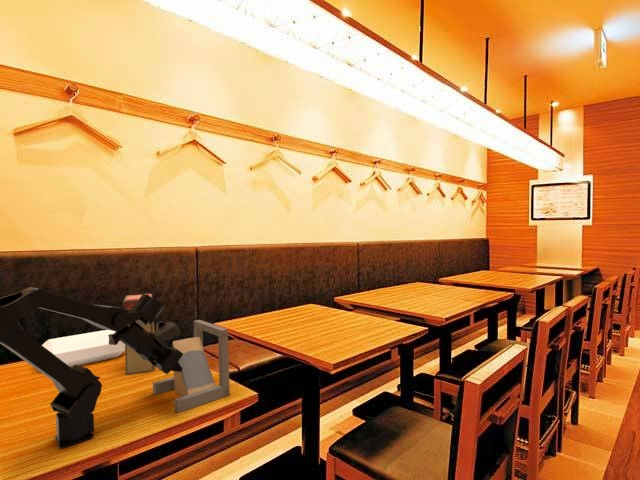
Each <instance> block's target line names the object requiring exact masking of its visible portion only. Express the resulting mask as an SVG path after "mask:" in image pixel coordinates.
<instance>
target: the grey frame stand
mask: <svg viewBox="0 0 640 480" xmlns="http://www.w3.org/2000/svg"><path fill="white" fill-rule="evenodd" d="M203 331H204V332H206V333H209V334H211V335H214V336H217V339H218V344H217V345H218V375H219V376H218V377H219V379H218V380H219V383H218V385H216V386H214V387H211V388H208V389H205V390H202V391H199V392H196V393H192V394H189V395H186V396H183V397H181V396H180V397H178V398H177V397H176V398H175V399H174V412H176V413H177V414H179V413H181V412H185V411H188V410H191V409H194V408H196V407H200V406H202V405H204V404H205V405H206V404H208V403H211V402H214V401H216V400H217V401H218V400H219V399H222V398H226V397H228V396H230V366H229V364H230V361H229V359H230V357H229V329H228V328H226V327H223V326H220V325H216V324H213V323H210V322H208V321H204V320H201V319H196V320H193V338H194V337H200V339H201V343H202V346H203V347H204V335H203V334H204V333H203ZM172 390H174V376H172V377H168V378H165V379H161V380H156V381H153V382H152V393H153V394H154V395H158V394H163V393H166V392H169V391H172Z"/></svg>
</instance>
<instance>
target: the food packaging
mask: <svg viewBox="0 0 640 480" xmlns="http://www.w3.org/2000/svg"><path fill="white" fill-rule="evenodd" d="M143 294H144V293H142V294H131V295H130V294H128V295H126V296H125V297H124V300H123V301H122V306H123V307H122V308H124V309H128V310H131V309H132V308H133V307H134V306H135V304H136V303H137V302H138V301H139V299H140V297H141V296H142V295H143ZM146 294H147V295H149V296H150V297H152V298H153V294H152V293H146ZM136 323H137V322H136ZM137 324H138V323H137ZM139 325H140V324H139ZM140 326H141V327H143V328H144V329H145V330H147V331H149V332H151V333H154V332H155V320H154V321H153V323H152V324H151V325H149V324H146V326H142V325H140ZM124 354H125V357H124V358H125V376H128V375H129V376H130V375H136V374H137V375H138V374H143V373H149V372H155V370H156V369H155V368H156V366H154V365H152V364H151V362H149V361H148V360H144V359H143V358H141V357H140V356H138V353H136V352H135V351H133V350H132V349H131V348H129V347H128V346H126V345H125V351H124Z"/></svg>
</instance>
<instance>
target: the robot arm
mask: <svg viewBox="0 0 640 480" xmlns="http://www.w3.org/2000/svg"><path fill="white" fill-rule="evenodd" d="M142 294H143V295H142V296H141V297H140V299H139V301H138V302H137V303H136V304H135V306H134V307H133V308H132V309H131V310H128V309H124V308H123V307H118V306H112V305H111V306H109V305H102V304H100V305H99V304H92V303H89V302H85V301H81V300H78V299H75V298H71V297H69V296H66V295H65V296H64V295H62V294H61V295H60V294H58V293H53V292H50V291H47V290H46V289H43V288H42V287H41V288H40V287H33V286H30V287H26V288H25V289H23V290H22V289H21V290H20V291H18V292H15V293H12V294H8V295H7V296H6V295H5V296H3V297H2V296H1V297H0V345H1V346H3V347H5V348H6V349H8V350H9V351H10V352H12V353H13V354H15V355H16V356H17V357H19V358H20V359H21V360H23V361H24V362H26V363H27V364H28V365H30V366H31V367H32V368H34V369H35V370H37V371H38V372H40V373H41V374H43V375H44V376H45V377H46V378H48V379H49V380H51V381H52V382H53V384H54V387H55V389H56V390H57V391H58V392H59V393H57V395H56V396H55V397H54V399H52V401H51V402H50V407H51V410H52V411H53V412H54V413H56V414H55V417H56V420H55V421H56V435H55V436H54V438H55V441H56V443H57V446H58V447H59V449H64V448H68V447H70V446H72V445H75V444H78V443H82V442H84V441H87V440H90V439H93V438H94V436H95V435H94V431H95V414H94V411H95V408H96V406H97V403H98V398H99V397H100V396H101V392H102V387H103V385H102V383H101V381H100V379H101V377H100V376H98V375H95V374H94V373H93V372H92V371H91V370H90V369H89V368H88V367H85V366H82V365H79V366H78V365H74V366H73V367H69V366H68V365H67V364H65V363H64V362H63V361H62V360H60V359H59V358H58V357H56V356H55V355H54V354H52V353H51V352H50V351H49V350H47V349H46V348H45V347H43V346H42V345H43V344H41V343H39V342H38V341H37V340H36V339H35V338H33V337H32V336H30V335H29V334H28V333H27V332H25V330H24V329H23V327H22V325H21V323H20V322H19V320H20V319H21V320H22V318H24V317H25V316H27V315H28V314H30V313H32V312H33V311H34V310H36V309H43V310H46V311H51V312H55V313H58V314H62V315H66V316H70V317H74V318H78V319H81V320H84V321H86V322H87V323H89V324H90V325H92V326H95V327H96V328H99V329H103V330H112V331H116V332H115V333H114V334H109V335H108V336H109V345H117V344H118V342H119V341H121V342H122V343H124V344H125V345H126V346H128V347H129V348H131V349H132V350H133V351H135V352H136V353H138V356H140V357H141V358H143V359H144V360H148V361H149V362H151V364H152V365H154V366H155V368H156V369H158V370H160V371H161V372H162V373H164V374H165V375H168V374H169V373H171V372H174V371H176V372H181V371H182V369H183V368H182V367H181V366H180V364H179V363H178V361H179V360H180V358H181V357H182V356H183V353H182V352H180V351H179V350H178V349H176V348H174V347H173V346H172V347H170V346H168V345H169V343H168V342H170V341H171V340H172V339H174V338H175V337H178V336H179V335H180V334H181V332H180V330H179V328H178V326H177V324H176V323H175V322H173V321H167V322H166V323H165V322H164V321H161V320H160V321H158V322H157V323H156V324H155V329H154V333H151V332H149V331H147V330H145V329H144V328H143V327H141V326H140V325H142V326H146V324H149V325H151V324H152V323H153V321H154V322H155V320H156V319H157V318H158V316H159V315H160V314H161V312H162V311H163V310H164V308H165V306H164V304H163V303H162V301H160V300H158V299H156V298H154V297H153V296H152V297H150V296H149V295H147V294H148V293H142ZM136 322H137V323H138V324H137V323H136ZM139 324H140V325H139Z"/></svg>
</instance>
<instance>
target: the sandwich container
mask: <svg viewBox="0 0 640 480" xmlns="http://www.w3.org/2000/svg"><path fill="white" fill-rule="evenodd" d="M172 347H174V348H176V349H178V350H179V351H180V352H182V353H183V356H182V357H181V358H180V360H179V361H178V363H179V364H180V366H181V367H182V368H183V369H182V371H181V372H176V371H173V377H174V389H173V390H174V391H175V392H176V393H177V394H178V396H180V397H183V396H186V395H189V394H192V393H196V392H199V391H202V390H205V389H208V388H211V387H214V386H217V384H216V382H215V380H214V377H213V373H212V371H211V368H210V365H209V361H208V359H207V356H206V353H205V349H204V345H203V346H202V343H201V339H200V337H194V336H193V337H188V338H184V339H178V340H173V341H172Z"/></svg>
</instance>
